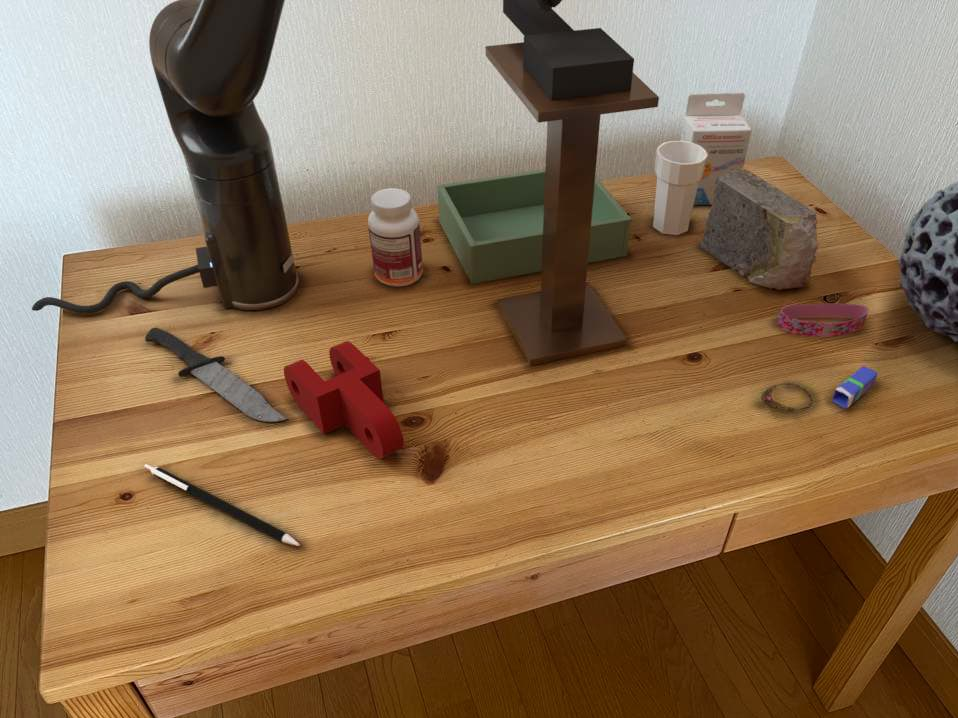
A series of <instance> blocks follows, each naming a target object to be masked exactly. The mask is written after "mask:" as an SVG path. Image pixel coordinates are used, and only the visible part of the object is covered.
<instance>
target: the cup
mask: <svg viewBox="0 0 958 718" xmlns="http://www.w3.org/2000/svg"><path fill="white" fill-rule="evenodd" d="M707 156H708V155H707V152H706V150H705V149H703V148H702V147H701V146H699V145H697V144H694V143H691V142H686V141H680V140H669V141H665V142H663V143H661V144H659V145H658V147H657V148H656V150H655V162H654V173H655V175H656V187H655V197H654V198H655V200H654V210H653V222H652V228H654V229H655V230H657V231H658V232H659V233H660V234H663V235H671V236H678V235H681V234H684V233H686V232H688V231H689V225H690V222H691V219H692V212H693V209H694V206H695V205H694V201H695V196H696V192H697V188H698V184H699V181H700V180H701V178H702V176H703V173H704V169H705V164H706V160H707Z"/></svg>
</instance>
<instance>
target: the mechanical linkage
mask: <svg viewBox="0 0 958 718" xmlns="http://www.w3.org/2000/svg"><path fill="white" fill-rule="evenodd" d="M328 355H329V361H330V364H331V367H332V369H333V372H334V374H335V376H333V377H330V378H329V379H327V380H324V379H323V378H322V377H321V376H320V374H318V372H317V371H316V370H315V369H314V368H313V367H312V366H311V365H310V364H309V363H308V362H307V361H306V360H304V359H300V360H296V361H295V362H292V363H290V364H288V365H285V366H284V367H283V375H284V380H285V382H286V386H287V388H288V391H289V393H290V395H291V396H292V398H293V400H294V402H295V403H296V404H297V405H298V407H299V408H300V409H301V411H303V412H304V414H306V415H307V417H308V418H309V419H310V420H311V421H312V423H313V424H314V425H315V426H316V427H317V428H318V429H319V430H320V432H321V433H322V434H323V435H326V434H328V433H330V432H332V431H334V430H337V429H339V428H341V427H343V426H345V427H346V428H347V429H348V430H349V431H350V433H352V434H353V435H354V437H356V439H357V440H358V441H359V442H360V443H361V444H362V445H363V446H364V448H366V450H368V452H369V453H370V454H371V455H372V456H373V457H374V458H376V459H377V460H381V459H383V458H385V457H387V456H389V455H391V454H393V453H395V452H397V451H399V450H401V449H402V448H404V446H405V445H404V444H405V443H404V442H405V441H404V435H403V431H402V429H401V425H400V423H399V421H398V420H397V418H396V416H395V414H394V413H393V412H392V410H391V409H390V408H389V407H388V405H386V403H385V399H384V392H383V385H382V376H381V370H380V369H379V368H378V366H377V365H376V364H374V362H373V361H371V360H370V359H369V358H368V357H367V356H366V355H365V354H364V353H363V352H362V351H361V350H360V349H359V348H358V347H357V346H356V345H355V344H353V343H352V342H351V341H349V340H346V341H343V342H341V343H339V344H337V345H334V346H331V347H330V348H329V354H328Z"/></svg>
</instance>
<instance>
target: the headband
mask: <svg viewBox="0 0 958 718" xmlns="http://www.w3.org/2000/svg"><path fill="white" fill-rule="evenodd" d="M869 310H870V309H869V308H868V307H867V306H866V305H861V304H855V303H805V304H803V303H802V304H794V305H788V306H784V307H782V308H781V309H780V311H779V312H780V313H779V316H778V319H777V322H776V323H777V324H776V325H777V327H778V328H779V329H781V330H783V331H785V332H788V333H791V334H795V335H798V336H804V337H815V338H829V337H838V336H844V335H849V334H851V333H854V332H856V331H858V330H860V329H862V328H863V326H864V324H865V321H866V319H867V316H868V314H869ZM810 318H812V319H813V318H815V319H817V318H842V319H843V318H844V319H845V318H846V319H850V320H845V321H839V322H814V321H807V320H802V319H810Z"/></svg>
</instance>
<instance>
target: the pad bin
mask: <svg viewBox="0 0 958 718" xmlns="http://www.w3.org/2000/svg"><path fill="white" fill-rule="evenodd" d="M545 169H546V168H545ZM545 169H544V168H543V169H538V170H531V171H524V172H516V173H511V174H503V175H497V176H490V177H484V178H483V177H481V178H476V179H469V180H463V181H462V180H461V181H456V182H450V183H442V184H437V204H438V205H437V206H438V221H439V223H440V225H441V227H442V230H443V231H444V233H445V235H446V237H447V239H448V241H449V243H450V245H451V247H452V249H453V251H454V253H455V255H456V257H457V259H458V261H459V262H460V265H461V267H462V268H463V270H464V272H465V275H466V276H467V278H468V281H469V282H470V284H471V285H475V284H478V283H484V282H490V281H495V280H501V279H507V278H513V277H517V276H524V275H529V274H535V273H541V267H542V242H543V218H544V194H545ZM631 226H632V218H631V217H630V216H629V215H628V214H627V212H626V211H625V209H623V207H622V206H621V205H620V203H619V202H618V201H617V200H616V198H615V196H613V194H612V193H611V192H610V191H609V190H608V188H607V187H606V186H605V185H604V184H603V182H602V181H601V180H600V178H598V176H597V175H596V174H595V185H594V197H593V209H592V220H591V232H590V244H589V256H588V264H590V263H596V262H600V261H606V260H607V261H608V260H611V259H618V258H623V257H627V256H628V251H629V242H630V233H631Z"/></svg>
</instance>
